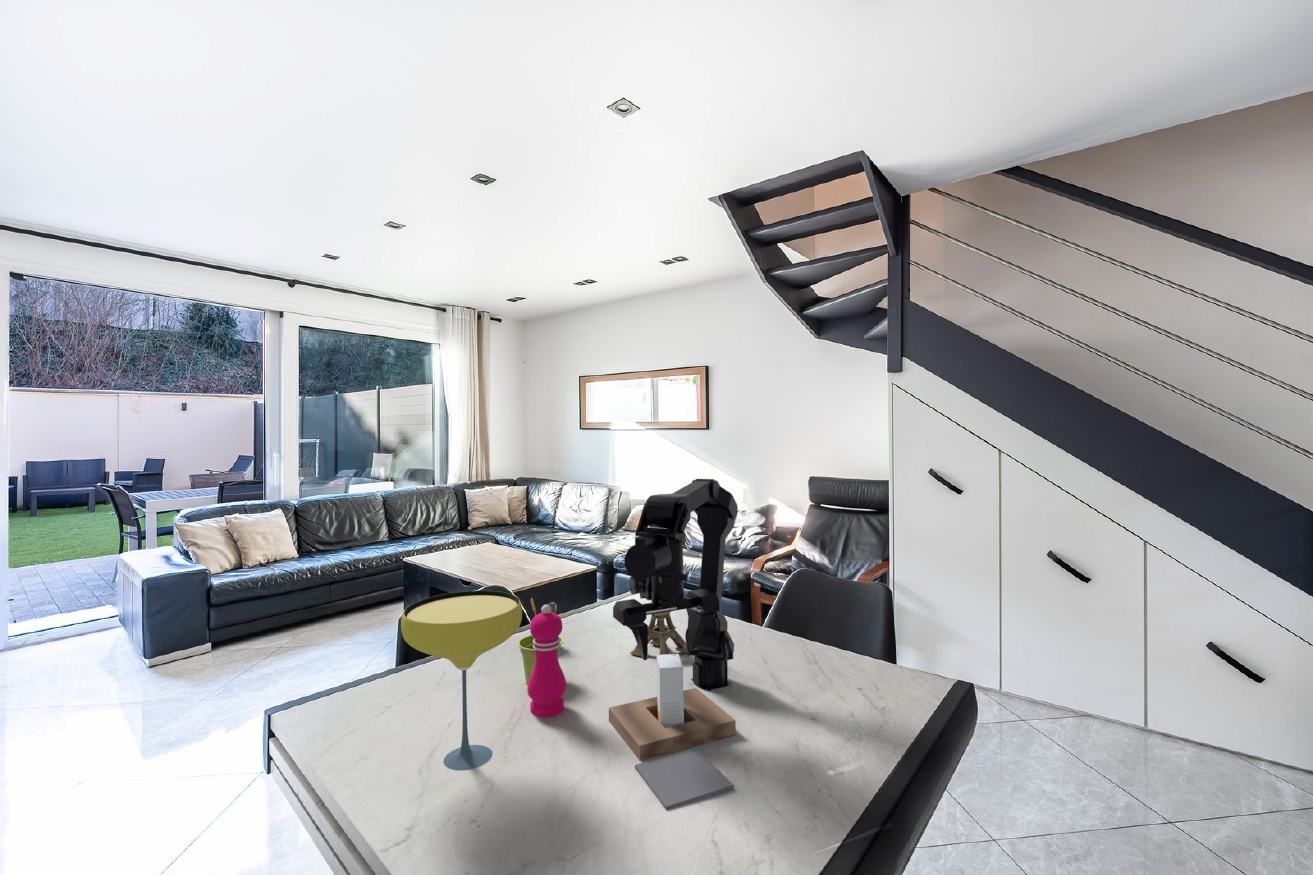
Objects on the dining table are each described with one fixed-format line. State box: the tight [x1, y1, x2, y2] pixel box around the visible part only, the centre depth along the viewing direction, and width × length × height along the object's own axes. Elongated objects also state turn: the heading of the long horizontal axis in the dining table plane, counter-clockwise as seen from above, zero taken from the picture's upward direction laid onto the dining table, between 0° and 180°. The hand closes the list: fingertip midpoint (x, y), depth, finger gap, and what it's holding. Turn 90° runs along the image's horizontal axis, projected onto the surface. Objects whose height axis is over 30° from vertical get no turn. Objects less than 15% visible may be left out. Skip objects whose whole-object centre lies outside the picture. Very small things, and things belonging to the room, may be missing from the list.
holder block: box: [608, 687, 737, 762], centre depth 100 cm, size 18×14×2 cm
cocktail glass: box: [400, 590, 523, 772], centre depth 90 cm, size 18×18×25 cm
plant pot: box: [517, 634, 564, 685], centre depth 119 cm, size 9×9×9 cm
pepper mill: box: [527, 604, 567, 718], centre depth 107 cm, size 7×7×20 cm
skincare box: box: [656, 653, 684, 728], centre depth 100 cm, size 6×4×12 cm
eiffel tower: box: [629, 607, 688, 657], centre depth 136 cm, size 11×11×25 cm
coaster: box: [634, 747, 735, 811], centre depth 85 cm, size 11×11×1 cm
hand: (668, 654), depth 100 cm, fingers open, 9 cm apart
